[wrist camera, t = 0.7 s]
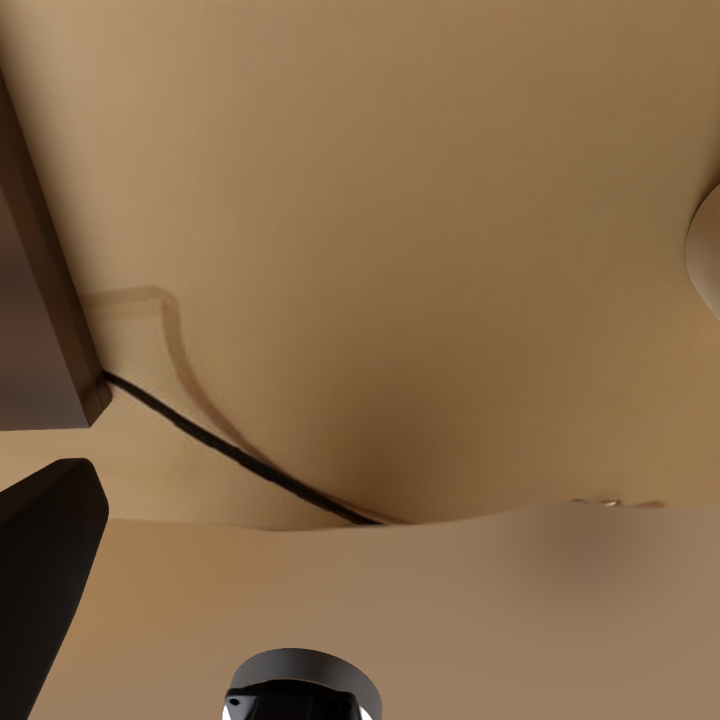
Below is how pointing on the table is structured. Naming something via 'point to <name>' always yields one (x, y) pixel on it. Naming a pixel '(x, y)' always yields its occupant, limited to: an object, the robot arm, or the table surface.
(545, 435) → the table surface
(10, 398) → the dark wooden base block
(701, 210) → the candle
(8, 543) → the robot arm
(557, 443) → the table surface
